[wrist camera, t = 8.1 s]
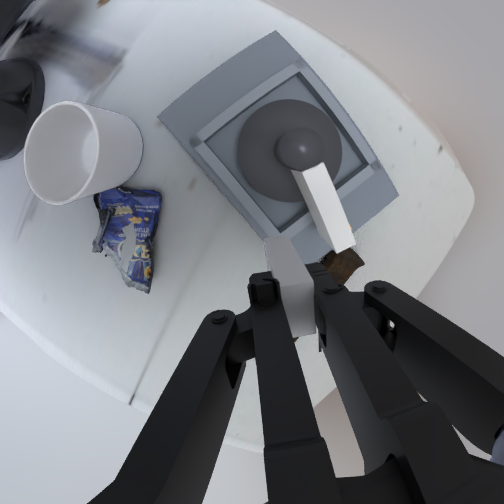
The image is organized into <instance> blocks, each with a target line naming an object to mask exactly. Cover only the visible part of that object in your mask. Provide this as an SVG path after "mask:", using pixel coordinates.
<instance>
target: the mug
mask: <svg viewBox="0 0 504 504" xmlns="http://www.w3.org/2000/svg"><path fill="white" fill-rule="evenodd" d="M142 151H143V142H142V137H141V134H140V131H139V129H138V128H137V126H136V125H135V124H134V122H133V121H131V120H130V119H129V118H127V117H126V116H124V115H121V114H119V113H115V112H112V111H108V110H105V109H101V108H97V107H94V106H90V105H86V104H82V103H78V102H74V101H62V102H58V103H55V104H53V105H51V106H50V107H48V108H47V109H45V110H44V111H43V112H42V113H41V114H40V115H39V116H38V118H37V119H36V120H35V122H34V123H33V125H32V127H31V129H30V131H29V133H28V136H27V139H26V142H25V147H24V156H23V162H24V171H25V176H26V179H27V182H28V184H29V186H30V188H31V189H32V191H33V192H34V193H35V195H36V196H37V197H38V198H40V199H41V200H42V201H44V202H46V203H49V204H53V205H62V204H66V203H69V202H72V201H75V200H78V199H81V198H84V197H87V196H90V195H93V194H96V193H99V192H102V191H105V190H109V189H112V188H115V187H117V186H119V185H121V184H123V183H124V182H126V181H127V180H128V179H129V178H130V177H131V176H132V175H133V174H134V173H135V171H136V169H137V168H138V166H139V163H140V161H141V157H142Z"/></svg>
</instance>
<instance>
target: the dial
mask: <svg viewBox="0 0 504 504" xmlns="http://www.w3.org/2000/svg"><path fill="white" fill-rule="evenodd" d="M238 159H239V163H240V166H241V169H242V171H243V173H244V175H245V177H246V178H247V180H248V181H249V182H250V183H251V185H252V186H253V187H254V188H255V189H256V190H258V191H259V192H260V193H262V194H263V195H265V196H267V197H269V198H272V199H274V200H278V201H281V202H302V201H305V202H306V204H307V206H308V209H309V211H310V213H311V215H312V218H313V220H314V222H315V224H316V227H317V229H318V231H319V234H320V236H321V237H322V238H323V239H324V240H325V241H326V243H327V244H328V245H329V246H330V247H331V248H332V249H333V250H334V251H335V252H336V253H339V252H341V251H343V250H345V249H347V248H349V247H351V246H353V245H355V244H356V242H355V239H354V236H353V234H352V231H351V228H350V226H349V223H348V220H347V218H346V215H345V212H344V210H343V207H342V205H341V202H340V200H339V197H338V195H337V193H336V190H335V188H334V185H333V183H332V182H333V181H334V179H335V178H336V176H337V174H338V172H339V169H340V166H341V162H342V143H341V138H340V135H339V133H338V130H337V128H336V127H335V125H334V123H333V122H332V120H331V119H330V118H329V117H328V116H327V115H326V114H325V113H324V112H323V111H322V110H320V109H319V108H317V107H316V106H314V105H312V104H310V103H307V102H304V101H301V100H295V99H282V100H277V101H273V102H270V103H267V104H265V105H264V106H262V107H260V108H259V109H257V110H256V111H255V112H254V113H253V114H252V115H251V116H250V117H249V118H248V119H247V121H246V122H245V124H244V126H243V128H242V130H241V132H240V136H239V139H238Z"/></svg>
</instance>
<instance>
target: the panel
mask: <svg viewBox="0 0 504 504" xmlns="http://www.w3.org/2000/svg"><path fill="white" fill-rule="evenodd" d="M282 99H295V100H301V101H304V102H307V103H310V104H312V105H314V106H316V107H317V108H319V109H320V110H322V111H323V112H324V113H325V114H326V115H327V116H328V117H329V118H330V119H331V120H332V122H333V123H334V125H335V127H336V128H337V130H338V133H339V135H340V138H341V143H342V162H341V166H340V169H339V172H338V174H337V176H336V178H335V179H334V181H333V182H332V183H333V185H334V188H335V190H336V193H337V195H338V197H339V200H340V202H341V205H342V207H343V210H344V212H345V215H346V218H347V220H348V223H349V226H350V228H351V231H352V233H354V232H355V231H356V230H357V229H359V228H360V227H361V226H362V225H364V224H365V223H366V222H367V221H369V220H370V219H371V218H372V217H373V216H375V215H376V214H377V213H378V212H380V211H381V210H382V209H383V208H384V207H386V206H387V205H388V204H389V203H391V202H392V201H393V200H394V199H395V198H397V197H398V196H399V194H398V192H397V190H396V189H395V187H394V185H393V183H392V181H391V180H390V178H389V176H388V174H387V173H386V171H385V169H384V168H383V166H382V164H381V163H380V161H379V159H378V158H377V156H376V155H375V153H374V151H373V150H372V148H371V147H370V145H369V144H368V142H367V140H366V139H365V137H364V136H363V134H362V133H361V132H360V130H359V129H358V127H357V126H356V124H355V123H354V121H353V120H352V119H351V117H350V116H349V114H348V113H347V112H346V110H345V109H344V108H343V106H342V105H341V104H340V102H339V101H338V100H337V98H336V97H335V96H334V95H333V93H332V92H331V91H330V90H329V88H328V87H327V86H326V85H325V83H324V82H323V81H322V80H321V79H320V77H319V76H318V75H317V74H316V73H315V71H314V70H313V69H312V68H311V67H310V66H309V65H308V63H307V62H306V61H305V60H304V59H303V58H302V57H301V56H300V55H299V53H298V52H297V51H296V50H295V49H294V48H293V47H292V46H291V45H290V44H289V43H288V42H287V41H286V40H285V39H284V38H283V37H282V36H281V35H280V34H279V33H278V32H277V31H276V30H275V31H274V32H272V33H270V34H268V35H267V36H265V37H263V38H262V39H260V40H258V41H257V42H255V43H253V44H252V45H250V46H249V47H247V48H245V49H244V50H242V51H241V52H239V53H238V54H236V55H235V56H233V57H232V58H230V59H229V60H227V61H226V62H225V63H223V64H222V65H220V66H219V67H217V68H216V69H215V70H213V71H212V72H211V73H209V74H208V75H207V76H205V77H204V78H203V79H201V80H200V81H199V82H198V83H196V84H195V85H194V86H192V87H191V88H190V89H189V90H187V91H186V92H185V93H184V94H183V95H181V96H180V97H179V98H178V99H177V100H175V101H174V102H173V103H172V104H171V105H170V106H168V107H167V108H166V109H165V110H164V111H163V112H162V113H161V114H160V115H158V116H157V117H158V118H159V120H160V121H161V122H162V123H163V124H164V125H165V126H166V128H167V129H168V130H169V131H170V132H171V133H172V134H173V136H174V137H175V138H176V139H177V140H178V141H179V142H180V144H181V145H182V146H183V147H184V148H185V149H186V151H187V152H188V153H189V154H190V155H191V156H192V157H193V159H194V160H195V161H196V162H197V163H198V164H199V166H200V167H201V168H202V169H203V170H204V171H205V173H206V174H207V175H208V176H209V177H210V178H211V179H212V181H213V182H214V183H215V184H216V185H217V187H218V188H219V189H220V190H221V191H222V192H223V194H224V195H225V196H226V197H227V198H228V199H229V201H230V202H231V203H232V204H233V205H234V206H235V208H236V209H237V210H238V211H239V212H240V214H241V215H242V216H243V217H244V218H245V220H246V221H247V222H248V223H249V224H250V225H251V227H252V228H253V229H254V230H255V231H256V233H257V234H258V235H259V236H260V237H261V239H262V240H263V241H264V238H270V237H276V236H283V235H287V236H288V237H289V239H290V241H291V242H292V244H293V246H294V248H295V249H296V251H297V253H298V255H299V256H300V258H301V260H302V262H303V263H304V264H310V263H315V262H316V261H317V260H319V259H320V258H321V257H323V256H324V255H325V254H327V253H328V252H329V251H330V250H332V248H331V247H330V246H329V245H328V244H327V243H326V241H325V240H324V239H323V238H322V237H321V236H320V234H319V231H318V229H317V227H316V224H315V222H314V220H313V218H312V215H311V213H310V211H309V209H308V206H307V204H306V202H305V201H302V202H281V201H278V200H274V199H272V198H269V197H267V196H265V195H263V194H262V193H260V192H259V191H258V190H256V189H255V188H254V187H253V186H252V185H251V183H250V182H249V181H248V180H247V178H246V177H245V175H244V173H243V171H242V169H241V166H240V163H239V159H238V139H239V136H240V132H241V130H242V128H243V126H244V124H245V122H246V121H247V119H248V118H249V117H250V116H251V115H252V114H253V113H254V112H255V111H256V110H257V109H259V108H260V107H262V106H264V105H265V104H267V103H270V102H273V101H277V100H282Z"/></svg>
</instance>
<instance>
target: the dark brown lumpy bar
mask: <svg viewBox="0 0 504 504" xmlns="http://www.w3.org/2000/svg"><path fill="white" fill-rule="evenodd" d="M327 256H328V258H327V259H326V261H325V262H324V263H323V265H324V267H325V268H326V270H327V271H328V272H329V274H330V275H331V277H332V278H333V280H334V281H335V282H336V283H340V284H343V285H344V284H345V282H346V281H347V280H348V279H349V277H350V276H352V274H353V272H354V271H355V270H356V269H358V268H359V267H361V266H363V265H365V263H364V261H363V260H362V259H361V258H360V257H359V255H358V254H357V253H356V252H354V251H353V250H352V249H351V248H350V247H349V248H347V249H345V250H343V251H341V252H339V253H336V252H335V251H334V250H332V251H330V252H329V253H328V255H327ZM298 338H299V337H295V338H293V340H294V342H295V341H296V340H297V339H298ZM255 360H256V357H255Z"/></svg>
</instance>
